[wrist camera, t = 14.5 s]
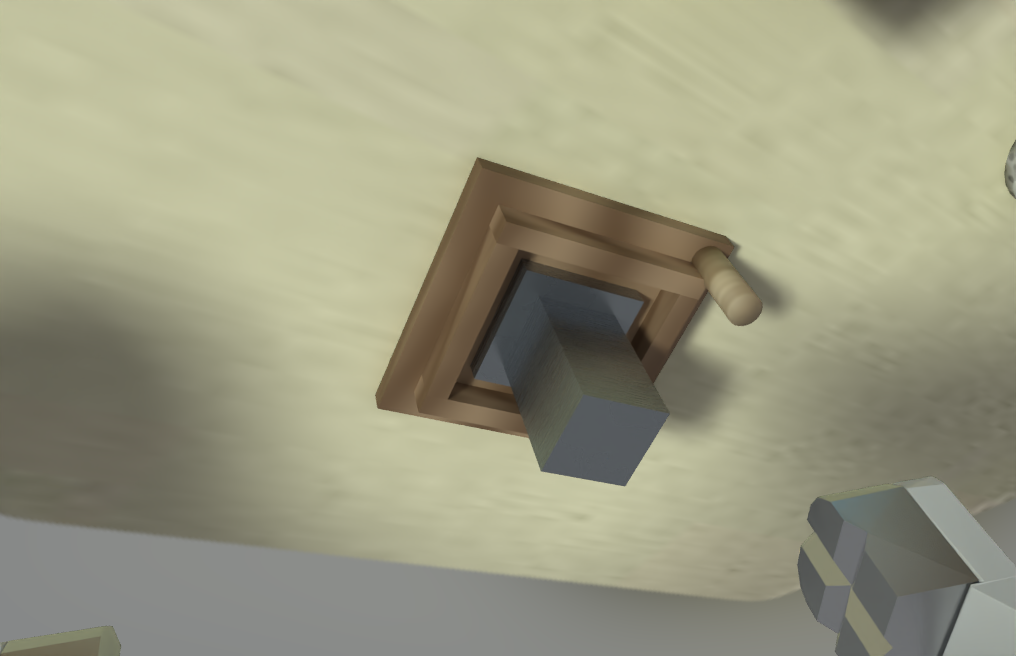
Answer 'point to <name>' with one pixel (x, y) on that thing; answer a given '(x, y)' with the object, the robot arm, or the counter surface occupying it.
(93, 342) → the counter surface
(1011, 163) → the mug
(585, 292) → the grey block on base
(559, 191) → the brown wooden square tray
